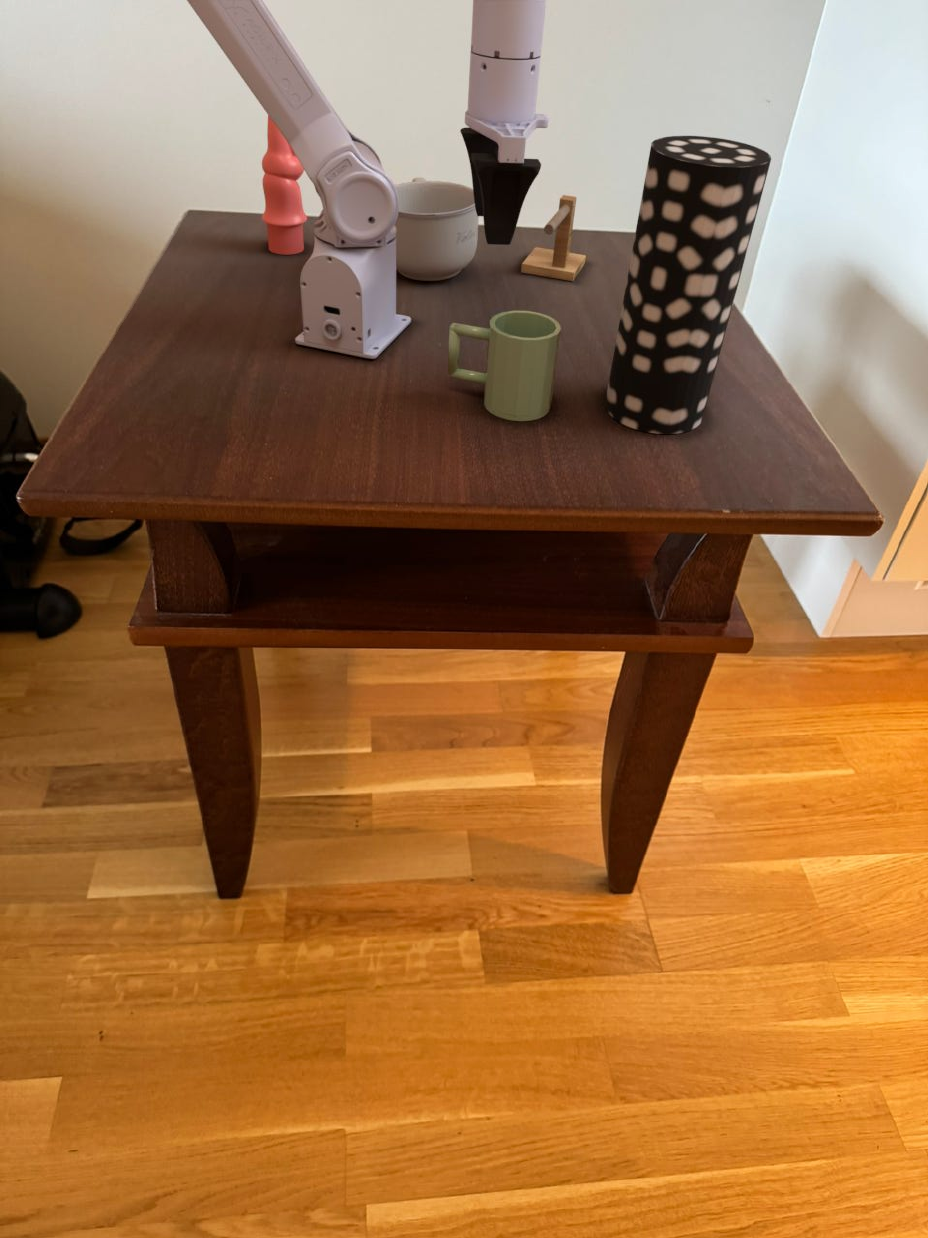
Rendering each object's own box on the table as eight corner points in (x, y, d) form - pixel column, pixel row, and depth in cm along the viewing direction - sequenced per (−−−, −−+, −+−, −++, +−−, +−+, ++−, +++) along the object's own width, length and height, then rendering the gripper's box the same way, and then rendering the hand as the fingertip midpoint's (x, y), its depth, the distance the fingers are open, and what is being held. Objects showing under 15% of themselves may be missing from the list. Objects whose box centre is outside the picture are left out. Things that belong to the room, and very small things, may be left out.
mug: (556, 397, 75) (567, 317, 70) (540, 426, 71) (550, 344, 66) (457, 377, 77) (461, 298, 72) (435, 404, 73) (438, 323, 68)
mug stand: (559, 302, 91) (569, 222, 86) (504, 292, 92) (511, 212, 87) (584, 264, 100) (595, 189, 95) (534, 255, 101) (542, 180, 96)
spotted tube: (636, 378, 78) (686, 129, 65) (719, 410, 75) (790, 153, 62) (585, 409, 73) (628, 147, 60) (672, 445, 70) (738, 174, 57)
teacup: (474, 293, 91) (480, 212, 86) (371, 286, 91) (370, 205, 86) (476, 247, 102) (480, 173, 97) (383, 242, 102) (383, 167, 96)
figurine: (320, 247, 99) (312, 96, 89) (290, 259, 96) (278, 104, 86) (285, 237, 101) (273, 88, 91) (255, 249, 98) (239, 95, 88)
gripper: (571, 73, 65) (549, 257, 74) (539, 40, 76) (523, 205, 85) (478, 68, 65) (468, 256, 74) (459, 36, 75) (452, 203, 84)
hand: (492, 228), depth 79 cm, fingers open, 7 cm apart
